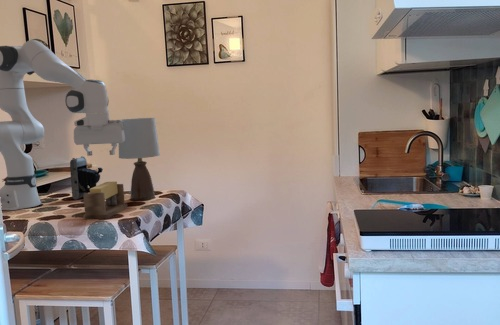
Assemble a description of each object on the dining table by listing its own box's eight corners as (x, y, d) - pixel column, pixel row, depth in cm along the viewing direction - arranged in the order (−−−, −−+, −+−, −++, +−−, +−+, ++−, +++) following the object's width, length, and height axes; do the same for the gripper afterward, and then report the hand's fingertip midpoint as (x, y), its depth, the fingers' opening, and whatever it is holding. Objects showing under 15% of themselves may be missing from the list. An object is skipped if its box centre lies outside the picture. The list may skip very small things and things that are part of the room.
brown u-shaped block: (83, 219, 181) (80, 193, 180) (105, 207, 201) (103, 184, 200) (107, 218, 180) (105, 193, 178) (127, 206, 200) (125, 183, 199)
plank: (90, 201, 182) (89, 188, 181) (107, 193, 198) (106, 181, 197) (101, 201, 181) (100, 188, 181) (117, 193, 197) (116, 181, 197)
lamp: (153, 201, 208) (147, 118, 204) (115, 201, 212) (108, 120, 208) (168, 193, 226) (163, 117, 222) (133, 193, 230) (127, 118, 226)
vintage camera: (101, 200, 220) (99, 158, 218) (71, 199, 223) (69, 158, 221) (110, 196, 230) (109, 156, 227) (82, 195, 232) (79, 156, 230)
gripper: (126, 119, 188) (128, 153, 189) (77, 121, 190) (80, 155, 192) (120, 119, 181) (122, 155, 183) (70, 122, 184) (73, 156, 185)
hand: (101, 155), depth 187 cm, fingers open, 8 cm apart
